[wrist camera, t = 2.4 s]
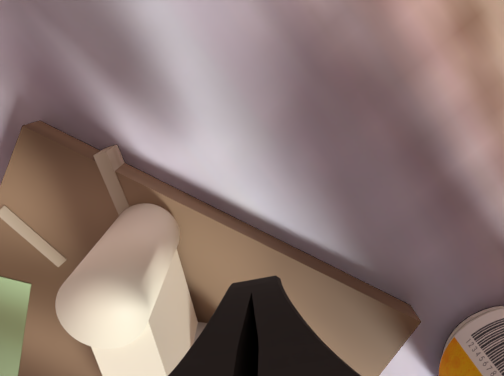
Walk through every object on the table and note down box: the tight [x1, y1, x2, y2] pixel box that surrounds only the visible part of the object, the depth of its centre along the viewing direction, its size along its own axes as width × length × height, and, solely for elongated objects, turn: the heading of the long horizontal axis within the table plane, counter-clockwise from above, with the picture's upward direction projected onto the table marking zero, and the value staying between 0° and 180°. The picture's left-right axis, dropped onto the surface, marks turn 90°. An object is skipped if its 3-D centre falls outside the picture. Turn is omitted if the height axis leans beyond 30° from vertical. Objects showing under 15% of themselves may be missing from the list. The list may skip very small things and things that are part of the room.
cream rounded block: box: [55, 203, 207, 376], centre depth 14 cm, size 11×6×5 cm, turn 12°
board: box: [0, 121, 421, 376], centre depth 17 cm, size 13×18×1 cm
